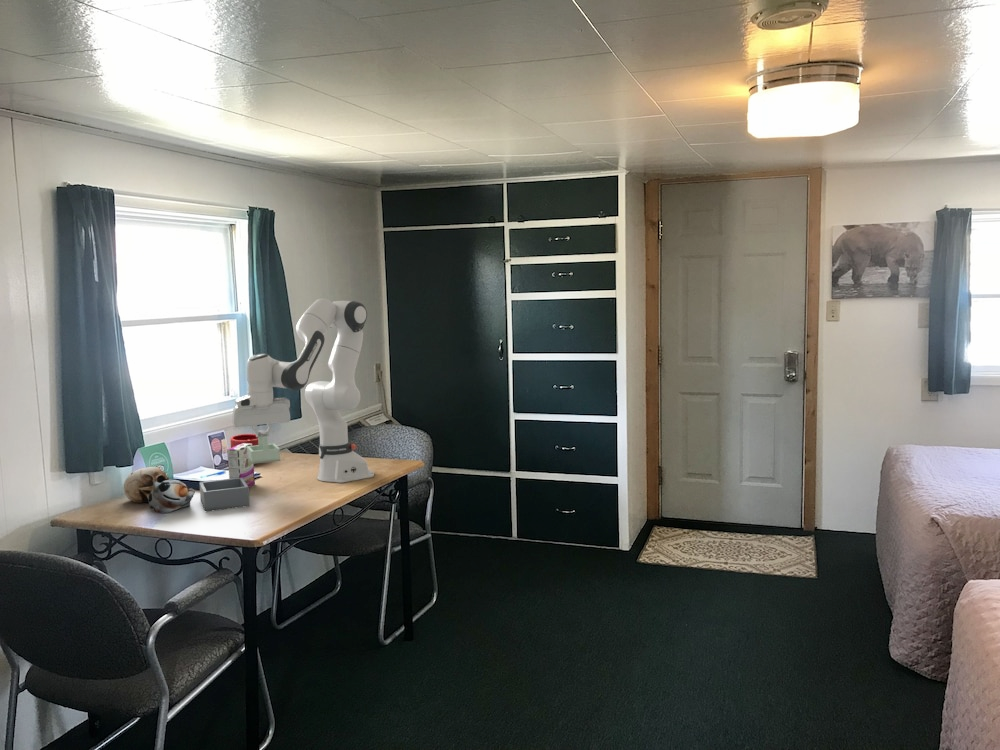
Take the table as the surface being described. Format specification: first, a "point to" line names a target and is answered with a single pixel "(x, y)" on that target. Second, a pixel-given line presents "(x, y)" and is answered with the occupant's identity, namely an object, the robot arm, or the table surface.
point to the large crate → (224, 494)
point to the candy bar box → (240, 464)
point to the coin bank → (142, 483)
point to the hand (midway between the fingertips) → (262, 436)
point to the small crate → (263, 451)
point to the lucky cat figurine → (169, 496)
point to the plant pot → (244, 440)
